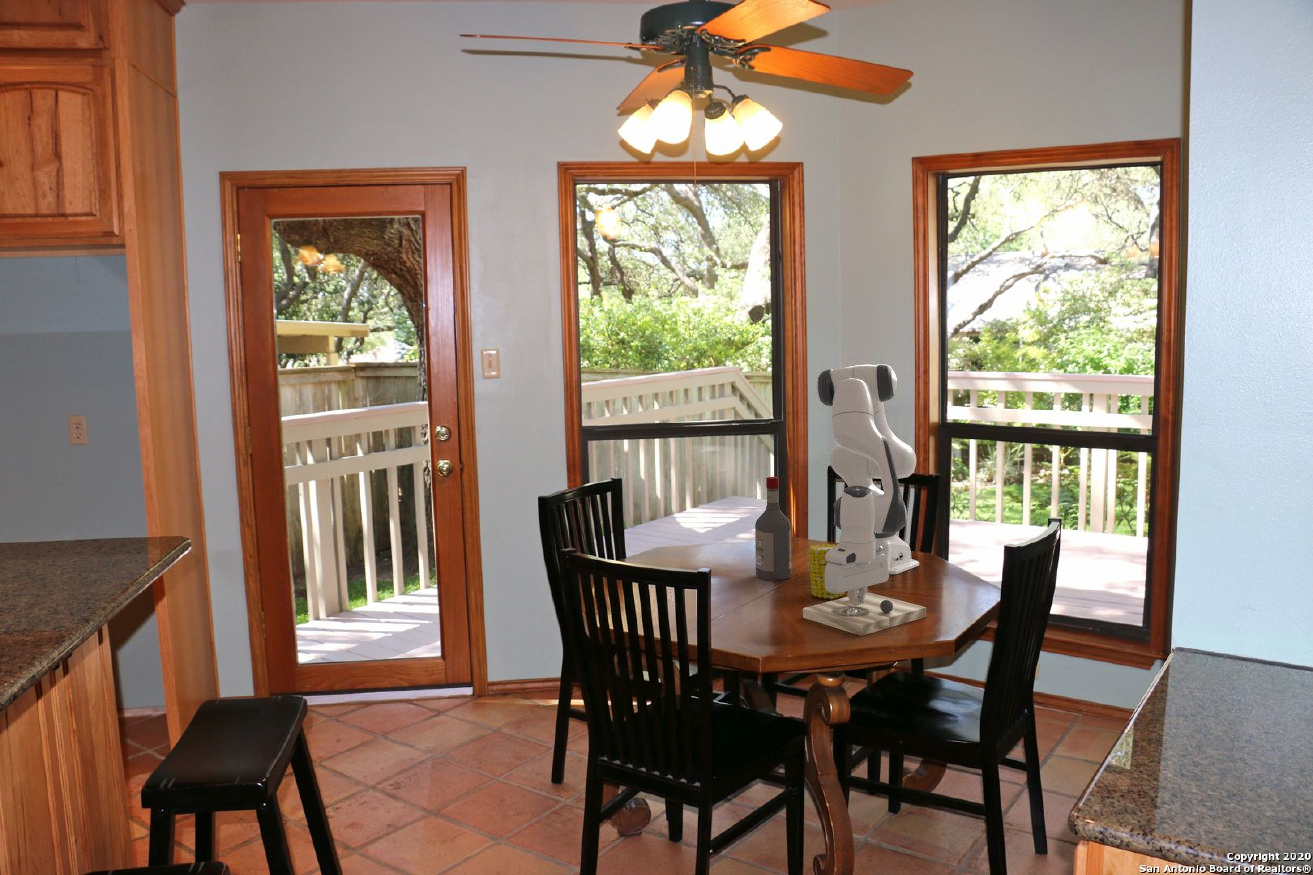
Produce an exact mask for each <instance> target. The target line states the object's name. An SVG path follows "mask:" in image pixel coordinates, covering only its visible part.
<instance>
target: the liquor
mask: <svg viewBox="0 0 1313 875" xmlns="http://www.w3.org/2000/svg"><path fill="white" fill-rule="evenodd" d="M765 480H766V481H765V482H766V483H765V489H766V506H765V510H764V511H763V512H762V514H761V515H760V516H759V517H758V518H757V519H756V521H755V524H754V532H755V534H754V535H755V544H754V545H755V546H754V547H755V575H756V577H757V578H759V579H762V580H764V581H771V582H776V581H782V580H788V579H789V578H790V577H791V575H792V525H791V522H790V519H789V518H788V517H787V516H786V515H785V514H784V512H782V510H781V508H780V502H779V488H780V485H779V484H780V483H779V481H780V479H779V476H768V477H767V476H766V477H765Z"/></svg>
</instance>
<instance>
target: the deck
mask: <svg viewBox="0 0 1313 875" xmlns="http://www.w3.org/2000/svg"><path fill="white" fill-rule="evenodd" d="M884 600H889V601H891V602H892V604H893V609H892V611H891V612H889V613H885V612H883V611H882V610H881V608H880V604H881V602H882V601H884ZM850 608H854V609H856V610H857V611H858V613H857V614H846V612H847V610H848V609H850ZM802 617H803V618H802V619H805V620H809V621H813V622H815V623H819V624H822V625H826V626H829V627H832V628H834V629H835V628H836V629H839V630H841V631H845V632H849V633H851V634H854V635H858V636H864V635H869V634H873V633H876V632H879V631H882V630H886V629H890V628H894V627H896V626H899V625H903V624H907V623H910V622H914V621H917V620H920V619H924V618H927V607H925V606H923V605H919V604H915V603H910V602H907V601H903V600H900V599H895V598H892V597H890V596H889V597H888V596H885V595H880V594H877V593H872V592H869V591H867V593H866V595H865V597H864V604H861V605H857V606H854V605H852V604H851V600H850V599H849V598H848V596H844V597H842V598H836V599H832V600H830V601H825V602H822V603H818V604H815V605H814V604H813V605H810V606H806V607H803V608H802Z"/></svg>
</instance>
